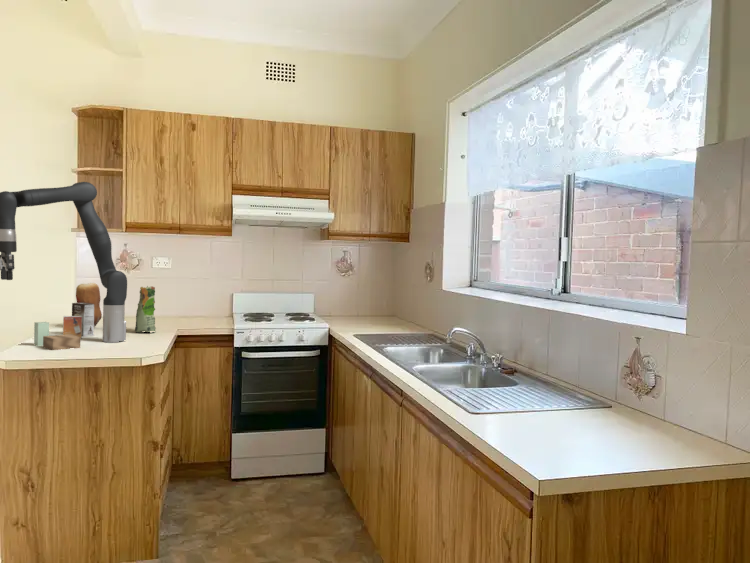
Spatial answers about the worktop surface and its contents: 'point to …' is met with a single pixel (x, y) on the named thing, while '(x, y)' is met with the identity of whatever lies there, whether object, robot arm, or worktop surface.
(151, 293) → the pouch
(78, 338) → the riser
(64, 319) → the small box
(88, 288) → the butternut squash
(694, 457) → the worktop surface
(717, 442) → the worktop surface
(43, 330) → the sage green pillar
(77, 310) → the coffee box
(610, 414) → the worktop surface
